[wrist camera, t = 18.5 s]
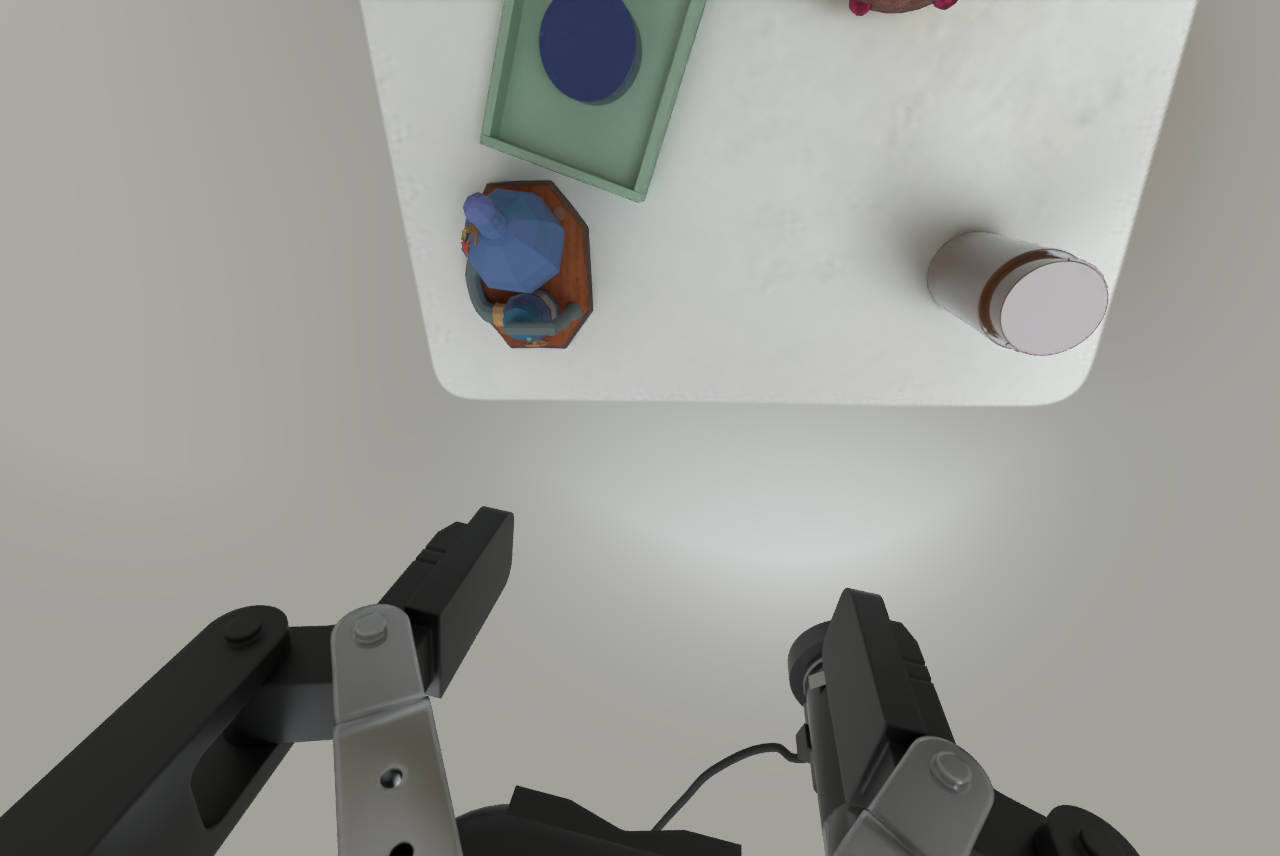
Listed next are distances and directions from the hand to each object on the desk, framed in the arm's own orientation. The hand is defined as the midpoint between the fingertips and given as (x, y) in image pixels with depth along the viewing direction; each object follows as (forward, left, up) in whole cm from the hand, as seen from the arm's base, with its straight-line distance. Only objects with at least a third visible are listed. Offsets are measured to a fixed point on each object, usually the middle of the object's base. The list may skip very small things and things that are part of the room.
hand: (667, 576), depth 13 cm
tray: (+12, +13, -30) cm, 35 cm away
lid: (+12, +13, -28) cm, 33 cm away
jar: (+8, -15, -30) cm, 34 cm away
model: (-2, +14, -30) cm, 33 cm away
